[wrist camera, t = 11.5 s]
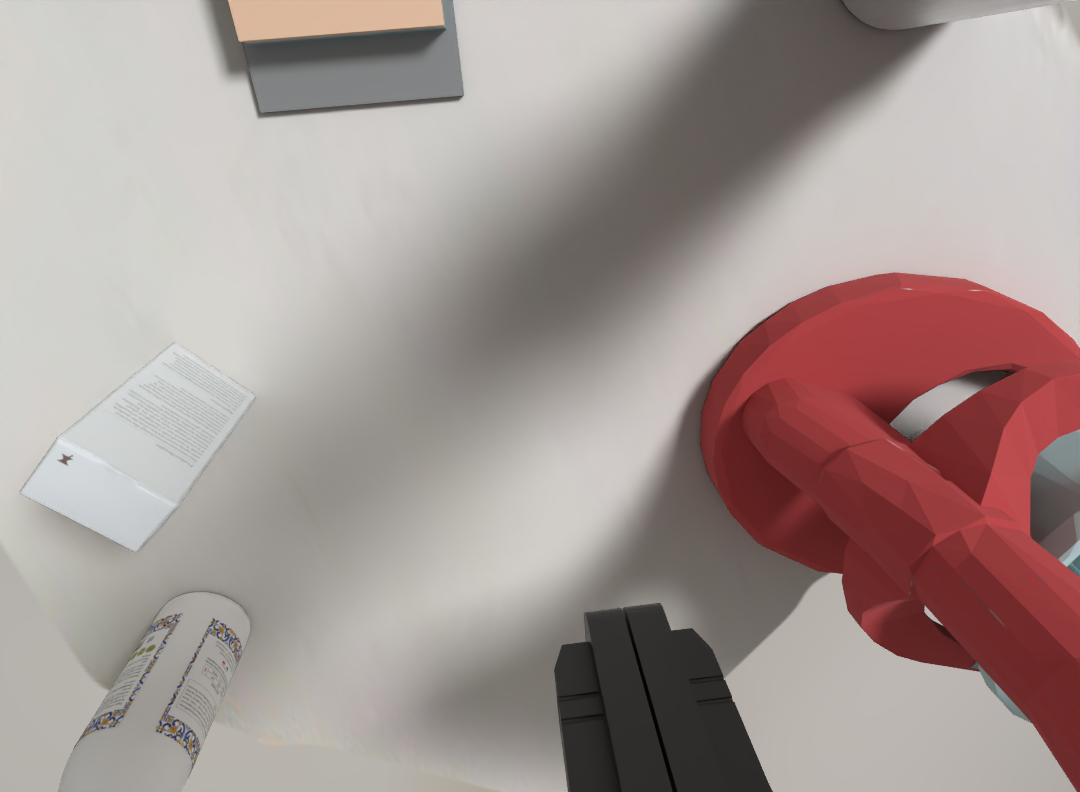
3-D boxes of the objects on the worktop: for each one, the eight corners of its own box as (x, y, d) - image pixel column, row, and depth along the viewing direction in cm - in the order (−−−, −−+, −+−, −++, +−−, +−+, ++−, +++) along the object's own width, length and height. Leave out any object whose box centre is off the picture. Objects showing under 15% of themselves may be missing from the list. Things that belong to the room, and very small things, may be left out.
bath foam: (157, 642, 49) (-31, 956, 31) (165, 580, 46) (-35, 884, 28) (246, 657, 50) (116, 964, 32) (259, 597, 48) (126, 896, 30)
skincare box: (140, 384, 39) (11, 492, 28) (175, 339, 38) (55, 433, 27) (225, 438, 41) (135, 556, 30) (260, 396, 40) (180, 504, 29)
